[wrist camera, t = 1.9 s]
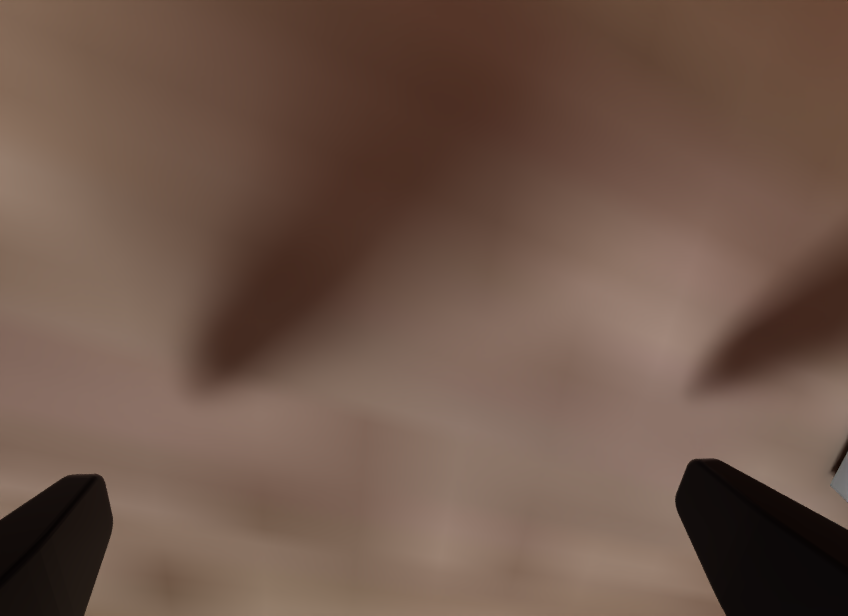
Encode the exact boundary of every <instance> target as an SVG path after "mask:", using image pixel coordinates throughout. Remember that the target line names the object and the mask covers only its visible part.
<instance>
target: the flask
mask: <svg viewBox="0 0 848 616" xmlns="http://www.w3.org/2000/svg"><path fill="white" fill-rule="evenodd" d="M830 486H831V487H832V488H833V489H834V490H835V491H837V492H838V493H839V494H840V495H841V496H842V497H843V498H844V499H845V500H846V501H847V502H848V452H847V454H846V456H845V458H844V460H843V462H842V463H841V465H840V467H839V469H838V471H837V473H836V475H835V476H834V478H833V480H832V482H831V484H830Z"/></svg>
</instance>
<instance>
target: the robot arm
mask: <svg viewBox="0 0 848 616" xmlns="http://www.w3.org/2000/svg"><path fill="white" fill-rule="evenodd" d="M675 503H676V508H677V511H678V514H679V516H680V518H681V521H682V523H683V525H684V527H685V529H686V532H687V534H688V536H689V538H690V540H691V543H692V545H693V547H694V549H695V551H696V554H697V556H698V558H699V560H700V562H701V565H702V567H703V569H704V571H705V573H706V576H707V578H708V580H709V582H710V584H711V587H712V589H713V591H714V593H715V595H716V597H717V599H718V601H719V603H720V605H721V607H722V609H723V611H724V612H725V614H726V616H848V530H847V529H845V528H844V527H842V526H840V525H838V524H836V523H834V522H833V521H831V520H829V519H827V518H825V517H823V516H822V515H820V514H818V513H816V512H814V511H812V510H811V509H809V508H807V507H805V506H803V505H801V504H800V503H798V502H796V501H794V500H792V499H790V498H788V497H787V496H785V495H783V494H781V493H779V492H777V491H776V490H774V489H772V488H770V487H768V486H766V485H765V484H763V483H761V482H759V481H757V480H755V479H754V478H752V477H750V476H748V475H746V474H744V473H743V472H741V471H739V470H737V469H735V468H733V467H732V466H730V465H728V464H726V463H724V462H722V461H720V460H718V459H712V458H711V459H694V460H692V461H690V462H689V463H688V465H687V467H686V470H685V472H684V475H683V478H682V480H681V483H680V485H679V488H678V491H677V493H676V498H675ZM112 527H113V516H112V511H111V507H110V502H109V498H108V493H107V489H106V484H105V481H104V479H103V477H102V476H100V475H98V474H75V475H68V476H66V477H64V478H62V479H60V480H59V481H57V482H56V483H54V484H53V485H51V486H50V487H48V488H47V489H45V490H44V491H43V492H41V493H40V494H38V495H37V496H35V497H34V498H32V499H31V500H29V501H28V502H26V503H25V504H23V505H22V506H20V507H19V508H17V509H16V510H14V511H13V512H11V513H10V514H8V515H7V516H5V517H4V518H2V519H1V520H0V616H84V614H85V611H86V608H87V605H88V602H89V599H90V596H91V593H92V590H93V587H94V584H95V581H96V578H97V575H98V572H99V569H100V566H101V563H102V560H103V557H104V554H105V551H106V548H107V545H108V542H109V540H110V536H111V533H112Z"/></svg>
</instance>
